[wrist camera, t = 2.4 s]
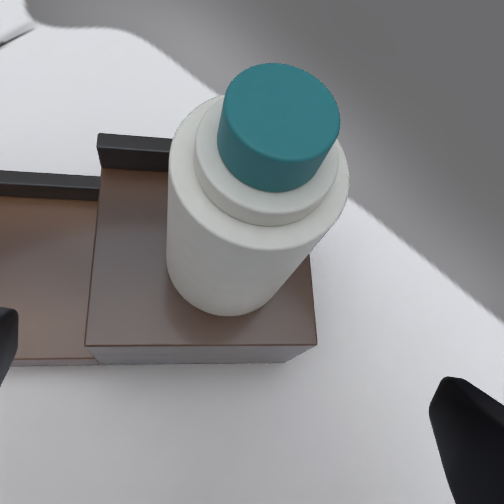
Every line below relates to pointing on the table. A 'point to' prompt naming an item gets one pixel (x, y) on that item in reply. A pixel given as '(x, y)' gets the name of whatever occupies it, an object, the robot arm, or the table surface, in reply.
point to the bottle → (252, 188)
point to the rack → (123, 273)
